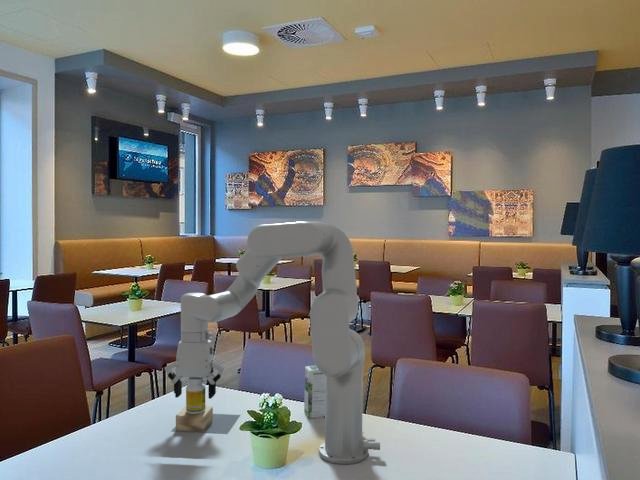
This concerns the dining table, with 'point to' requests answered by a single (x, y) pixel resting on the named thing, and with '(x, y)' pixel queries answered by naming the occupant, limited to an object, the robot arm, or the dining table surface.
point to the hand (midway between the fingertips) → (194, 396)
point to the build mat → (217, 424)
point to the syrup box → (314, 392)
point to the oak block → (194, 420)
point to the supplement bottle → (195, 396)
